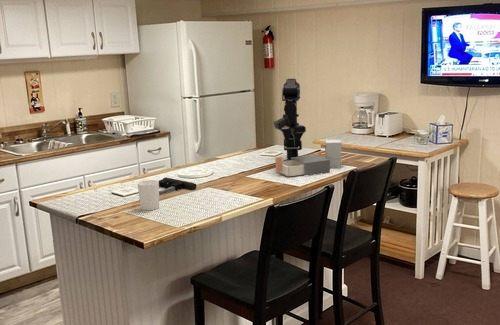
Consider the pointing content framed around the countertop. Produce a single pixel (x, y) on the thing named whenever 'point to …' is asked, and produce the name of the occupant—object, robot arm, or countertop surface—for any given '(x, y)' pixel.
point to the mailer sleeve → (314, 164)
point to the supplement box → (333, 153)
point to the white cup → (149, 194)
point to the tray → (289, 167)
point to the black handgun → (174, 185)
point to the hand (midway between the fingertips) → (291, 144)
